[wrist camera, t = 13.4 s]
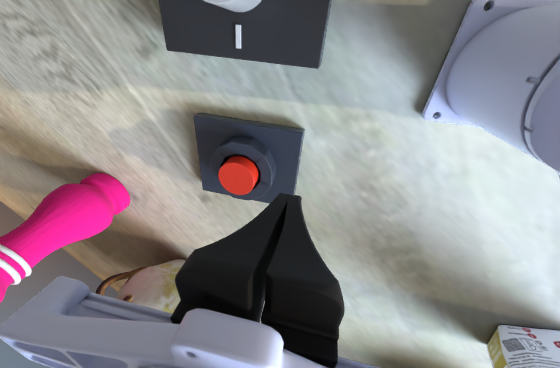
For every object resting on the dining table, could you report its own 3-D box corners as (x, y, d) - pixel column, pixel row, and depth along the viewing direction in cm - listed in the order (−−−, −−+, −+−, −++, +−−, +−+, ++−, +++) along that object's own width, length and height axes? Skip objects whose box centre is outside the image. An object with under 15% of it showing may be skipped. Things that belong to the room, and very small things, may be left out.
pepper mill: (113, 214, 35) (-88, 368, 18) (77, 176, 32) (-202, 319, 15) (143, 205, 32) (-60, 375, 16) (107, 162, 29) (-192, 317, 12)
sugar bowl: (125, 251, 40) (31, 344, 27) (169, 221, 33) (69, 328, 20) (203, 311, 46) (154, 409, 34) (254, 297, 39) (216, 414, 27)
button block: (304, 129, 21) (300, 139, 19) (293, 201, 26) (289, 218, 24) (199, 112, 23) (182, 120, 20) (207, 184, 28) (194, 198, 25)
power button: (259, 158, 21) (254, 166, 20) (258, 189, 23) (253, 198, 22) (223, 152, 21) (217, 159, 20) (225, 183, 23) (219, 191, 22)
